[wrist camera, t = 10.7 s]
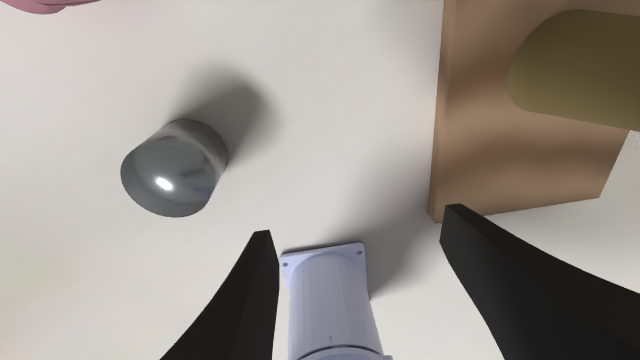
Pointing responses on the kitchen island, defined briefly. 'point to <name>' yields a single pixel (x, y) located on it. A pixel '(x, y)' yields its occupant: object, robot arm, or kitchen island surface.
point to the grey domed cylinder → (175, 169)
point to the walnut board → (509, 117)
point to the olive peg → (581, 68)
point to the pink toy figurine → (44, 5)
